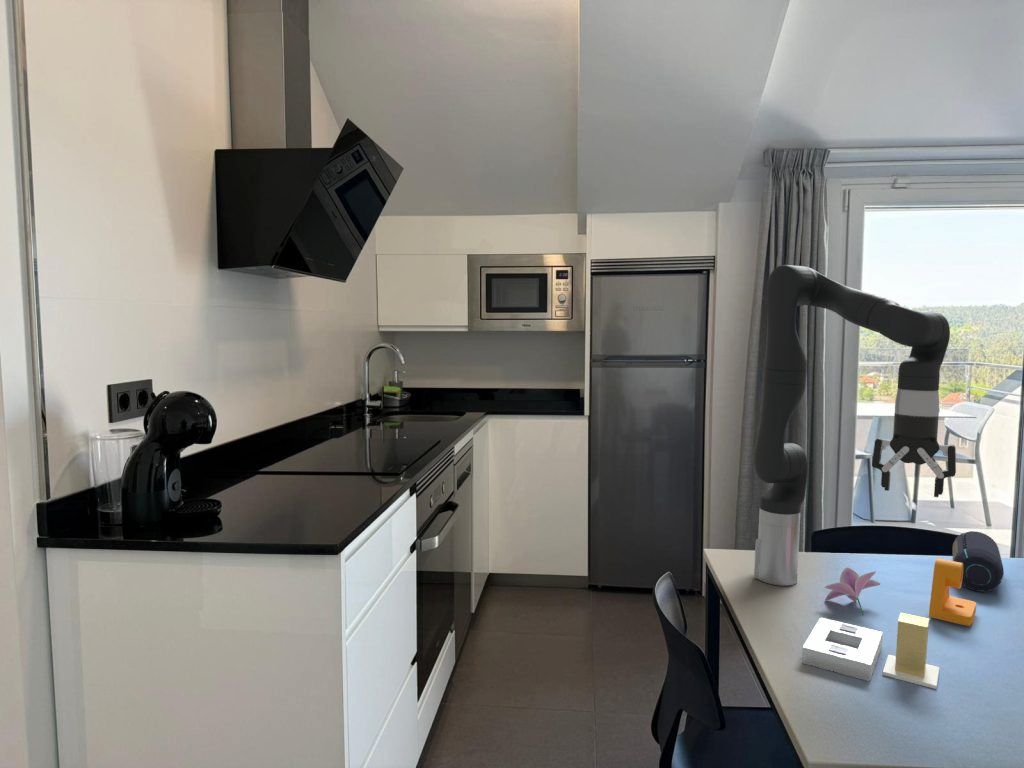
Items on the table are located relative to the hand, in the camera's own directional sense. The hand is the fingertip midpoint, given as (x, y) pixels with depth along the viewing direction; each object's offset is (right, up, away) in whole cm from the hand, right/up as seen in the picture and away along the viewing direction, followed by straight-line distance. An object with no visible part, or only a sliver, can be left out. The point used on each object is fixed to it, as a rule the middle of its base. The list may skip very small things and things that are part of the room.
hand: (911, 493), depth 135 cm
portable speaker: (+35, -27, +32) cm, 54 cm away
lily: (-5, -27, +13) cm, 31 cm away
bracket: (+14, -28, +9) cm, 33 cm away
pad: (-9, -29, -16) cm, 34 cm away
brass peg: (-9, -29, -16) cm, 34 cm away
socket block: (-18, -29, -9) cm, 35 cm away
